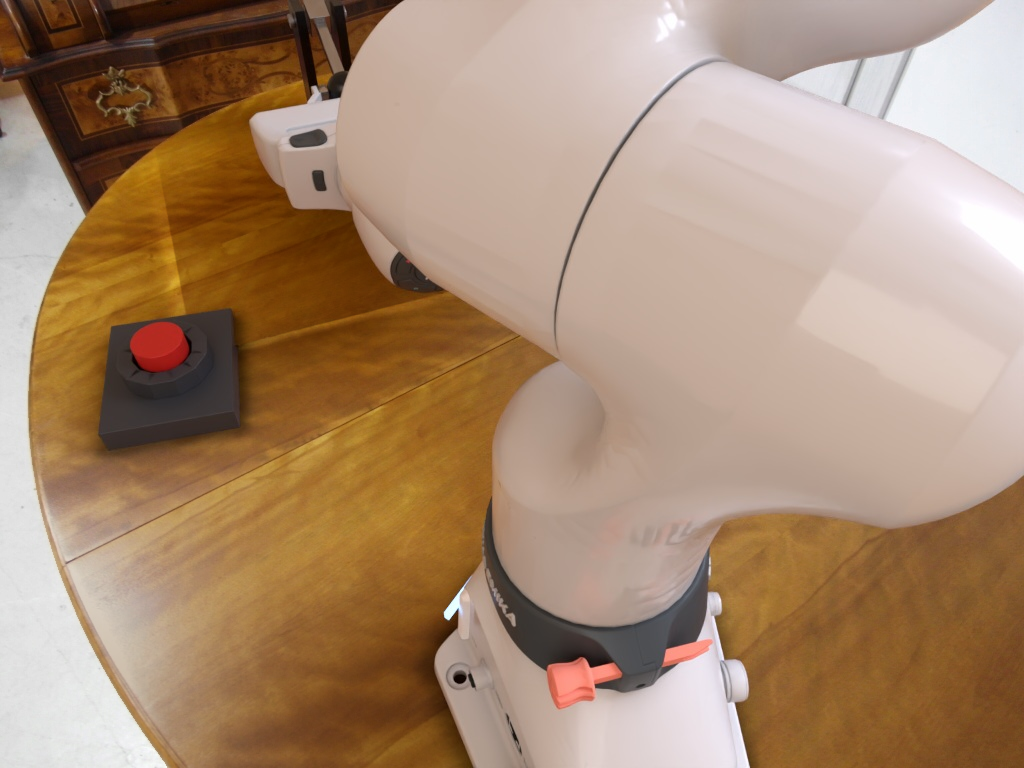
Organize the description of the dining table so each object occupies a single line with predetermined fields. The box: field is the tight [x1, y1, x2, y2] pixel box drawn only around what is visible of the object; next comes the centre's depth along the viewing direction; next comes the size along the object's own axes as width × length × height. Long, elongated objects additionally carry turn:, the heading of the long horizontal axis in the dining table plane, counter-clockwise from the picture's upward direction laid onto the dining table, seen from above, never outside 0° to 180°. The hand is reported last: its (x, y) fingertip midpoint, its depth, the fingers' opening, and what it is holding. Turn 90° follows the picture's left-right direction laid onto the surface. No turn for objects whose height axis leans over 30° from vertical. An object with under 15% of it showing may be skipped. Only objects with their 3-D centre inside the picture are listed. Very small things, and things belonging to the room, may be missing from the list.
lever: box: [302, 0, 348, 100], centre depth 80 cm, size 14×4×4 cm, turn 22°
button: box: [130, 322, 189, 372], centre depth 62 cm, size 4×4×2 cm
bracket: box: [286, 0, 353, 103], centre depth 86 cm, size 9×8×15 cm
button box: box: [97, 307, 241, 452], centre depth 64 cm, size 12×10×4 cm
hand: (342, 87), depth 79 cm, fingers closed on lever, 3 cm apart
